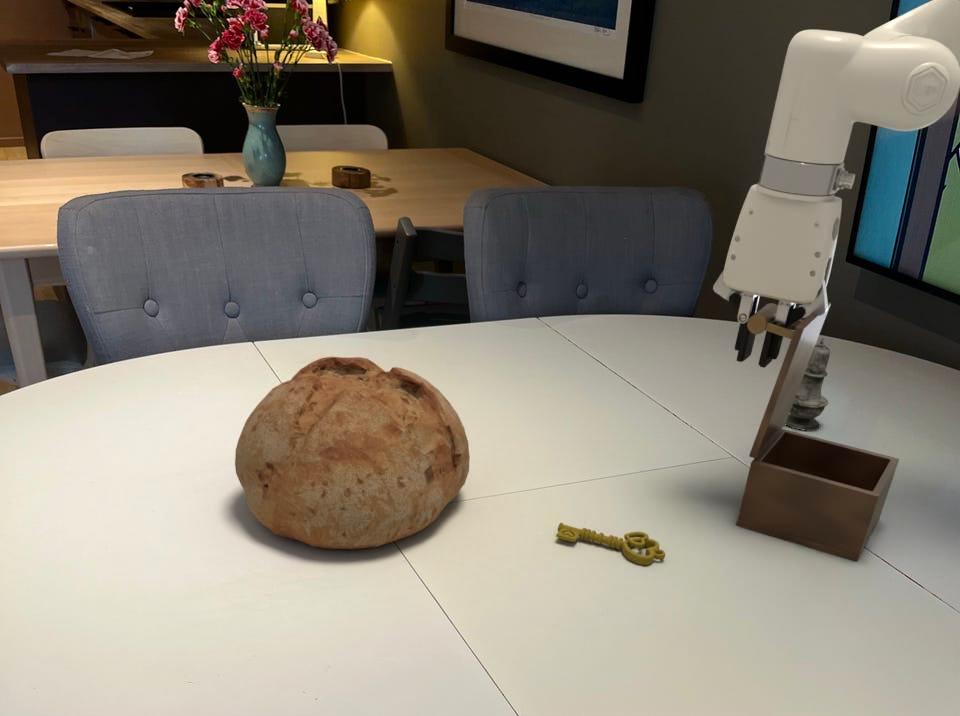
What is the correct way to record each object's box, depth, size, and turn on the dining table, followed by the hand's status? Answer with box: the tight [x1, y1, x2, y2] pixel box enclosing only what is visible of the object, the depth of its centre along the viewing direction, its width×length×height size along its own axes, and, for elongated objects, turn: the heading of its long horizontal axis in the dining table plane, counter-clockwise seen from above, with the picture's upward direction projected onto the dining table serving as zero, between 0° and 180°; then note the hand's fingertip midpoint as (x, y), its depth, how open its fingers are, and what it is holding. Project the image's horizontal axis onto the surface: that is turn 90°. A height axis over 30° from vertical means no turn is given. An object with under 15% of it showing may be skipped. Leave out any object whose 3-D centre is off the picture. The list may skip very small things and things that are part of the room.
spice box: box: [735, 428, 900, 562], centre depth 111 cm, size 14×12×8 cm
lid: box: [747, 301, 832, 459], centre depth 107 cm, size 14×12×6 cm
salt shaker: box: [785, 337, 831, 431], centre depth 135 cm, size 6×6×12 cm
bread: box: [234, 356, 471, 550], centre depth 106 cm, size 26×23×15 cm
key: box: [555, 522, 666, 566], centre depth 105 cm, size 12×1×5 cm
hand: (754, 360), depth 107 cm, fingers closed
